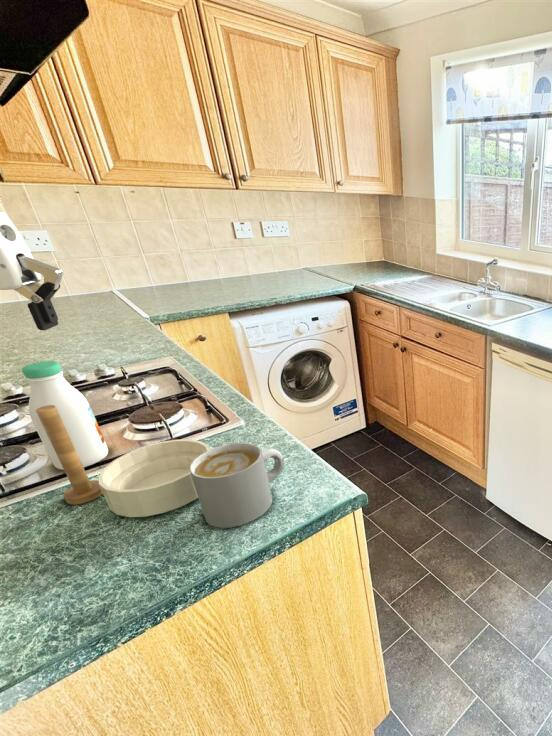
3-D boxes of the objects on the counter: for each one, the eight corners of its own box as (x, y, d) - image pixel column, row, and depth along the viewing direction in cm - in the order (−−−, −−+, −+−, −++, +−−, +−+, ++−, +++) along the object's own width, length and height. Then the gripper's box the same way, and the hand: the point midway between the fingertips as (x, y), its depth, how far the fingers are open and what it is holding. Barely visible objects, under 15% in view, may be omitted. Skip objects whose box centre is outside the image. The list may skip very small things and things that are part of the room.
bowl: (94, 498, 72) (81, 470, 70) (191, 456, 84) (183, 431, 82) (137, 534, 66) (124, 504, 63) (235, 482, 78) (228, 456, 75)
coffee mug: (214, 537, 66) (198, 486, 62) (198, 505, 72) (182, 457, 68) (301, 499, 75) (292, 453, 71) (280, 474, 81) (271, 429, 77)
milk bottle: (106, 463, 81) (65, 368, 72) (50, 476, 77) (0, 377, 68) (112, 444, 86) (75, 354, 78) (60, 455, 82) (15, 361, 74)
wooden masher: (61, 497, 72) (16, 410, 65) (98, 482, 76) (60, 398, 69) (73, 508, 70) (29, 419, 63) (110, 492, 74) (73, 406, 67)
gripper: (51, 201, 59) (96, 319, 66) (-117, 194, 54) (-49, 322, 61) (10, 203, 52) (64, 334, 59) (-185, 196, 47) (-101, 339, 55)
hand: (6, 328), depth 60 cm, fingers open, 9 cm apart
